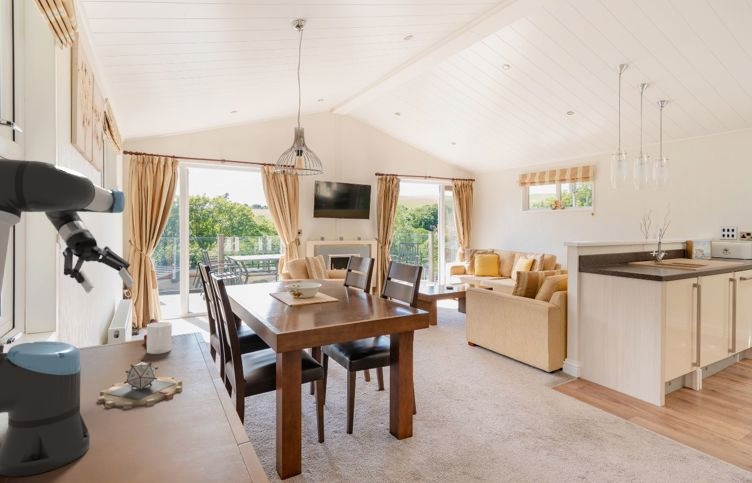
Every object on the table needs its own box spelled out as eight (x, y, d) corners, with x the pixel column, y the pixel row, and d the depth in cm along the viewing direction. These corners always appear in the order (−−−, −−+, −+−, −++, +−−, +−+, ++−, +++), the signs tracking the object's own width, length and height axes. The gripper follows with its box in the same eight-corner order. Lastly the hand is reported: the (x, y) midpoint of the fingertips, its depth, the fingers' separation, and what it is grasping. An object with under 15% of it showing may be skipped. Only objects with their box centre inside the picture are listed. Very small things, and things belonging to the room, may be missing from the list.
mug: (145, 358, 150) (145, 329, 150) (147, 349, 160) (147, 323, 160) (171, 355, 154) (171, 327, 154) (171, 347, 164) (171, 321, 164)
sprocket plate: (137, 414, 104) (137, 408, 104) (79, 401, 111) (79, 396, 111) (198, 385, 125) (198, 380, 125) (145, 376, 131) (145, 371, 131)
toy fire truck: (160, 340, 175) (161, 316, 175) (167, 346, 166) (167, 321, 165) (142, 342, 171) (142, 318, 171) (148, 349, 161) (148, 323, 161)
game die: (149, 400, 118) (169, 374, 118) (119, 399, 111) (141, 371, 111) (141, 378, 124) (161, 353, 123) (113, 376, 117) (133, 349, 116)
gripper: (109, 245, 144) (140, 290, 139) (29, 247, 120) (64, 300, 115) (120, 231, 142) (152, 275, 137) (41, 229, 118) (77, 283, 114)
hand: (112, 287), depth 126 cm, fingers open, 13 cm apart
